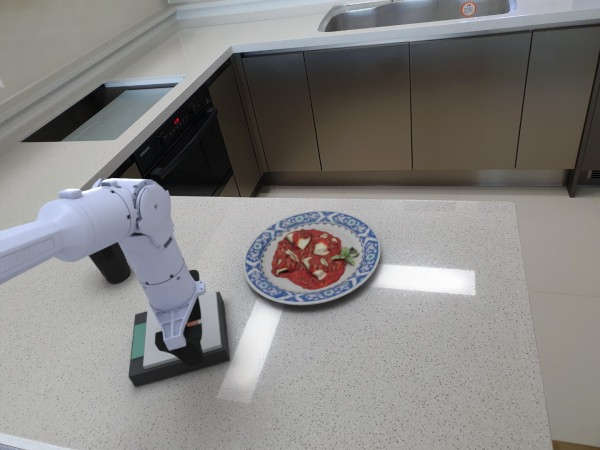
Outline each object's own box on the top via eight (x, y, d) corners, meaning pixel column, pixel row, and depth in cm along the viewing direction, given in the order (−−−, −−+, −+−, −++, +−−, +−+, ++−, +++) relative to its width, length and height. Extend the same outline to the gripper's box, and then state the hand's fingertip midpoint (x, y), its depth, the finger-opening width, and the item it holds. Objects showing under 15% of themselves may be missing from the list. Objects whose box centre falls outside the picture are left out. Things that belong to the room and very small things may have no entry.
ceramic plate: (219, 294, 84) (215, 282, 82) (283, 211, 101) (281, 200, 99) (352, 329, 73) (350, 316, 71) (398, 229, 90) (397, 217, 88)
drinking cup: (143, 261, 95) (103, 180, 83) (128, 288, 89) (82, 205, 77) (110, 263, 97) (66, 183, 85) (93, 289, 91) (42, 208, 79)
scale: (135, 387, 71) (126, 373, 69) (140, 324, 81) (133, 311, 79) (230, 360, 72) (224, 346, 70) (223, 302, 82) (218, 288, 80)
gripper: (195, 301, 49) (228, 376, 57) (192, 224, 61) (220, 295, 69) (129, 319, 48) (172, 392, 57) (139, 238, 60) (173, 308, 68)
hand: (195, 340), depth 63 cm, fingers open, 7 cm apart
